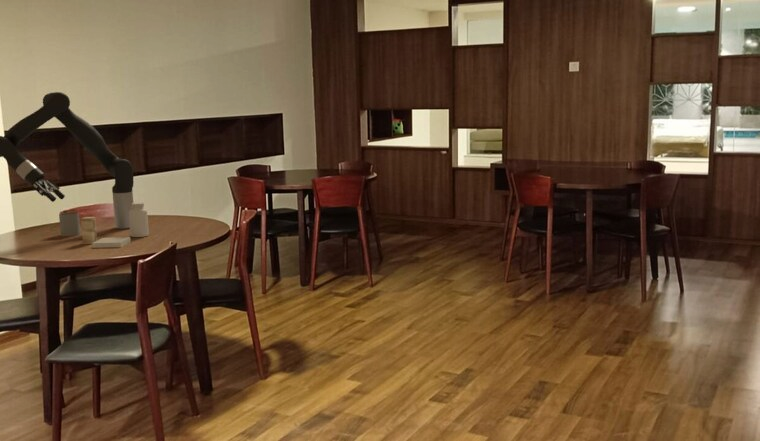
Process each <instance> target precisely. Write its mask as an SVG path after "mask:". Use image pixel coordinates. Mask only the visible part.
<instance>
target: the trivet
mask: <svg viewBox="0 0 760 441" xmlns="http://www.w3.org/2000/svg"><path fill="white" fill-rule="evenodd" d="M131 240H132V239H131V236H128V237H127V236H122V237H119V236H118V237H101V238H100V239H97V241H96V242H94V243H92V249H93V248H94V249H102V248H122V247H124V246H125V245H126V246H127V244H129V243H131V242H132V241H131Z"/></svg>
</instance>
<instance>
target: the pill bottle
mask: <svg viewBox="0 0 760 441" xmlns="http://www.w3.org/2000/svg"><path fill="white" fill-rule="evenodd" d="M131 206H132V209H131V210H130V211H129V222H130V228H129V232H130V233H129V234H130V238H143V237H144V238H146V237H148V236H150V234H149V218H148V210H147V209H145V208H144V206H145V204H144V202H133V203H132V204H131Z"/></svg>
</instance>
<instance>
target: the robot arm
mask: <svg viewBox="0 0 760 441" xmlns="http://www.w3.org/2000/svg"><path fill="white" fill-rule="evenodd" d="M70 105H71V100H70V98H69V96H68V94H66V93H64V92H60V91H59V92H58V91H55V92H49V93H47V94H45V95H44V96H43V97H42V106H41V107H39V109H37V110H35V111H34V112H33V113H31V114H29V115H27V116H26V117H24V118H22V119H20V120H19V121H18V122H16V123H15V124H14V125H12V126H11V127H9V129H8V130H7V133H6V134H5V135H4V136H2V135H0V158H4V159H5V161H6V163H7V165H8V166H9V167H10V168H11V169H12V170H13V171H15V173H17V175H18V176H20V178H22V179H23V181H25V182H26V183H27V184H28V185H29V186H30V187H32V188H33V189H34V190H35V191H36V192H37V193H38V194H39V195H40V196H44V197H46V198H48V200H50V201H51V202H52V203H54V202H55V201H56V200H57V198H59V199H60V200H63V199H65V197H66V195H65V194H64V193H63V192H61V190H60V189H61V188H60V186H59V185H58V184H56V183H55V182H54V181H52V179H50V178H48V179H45V176H46V174H45V173H44V172H43V171H42V170H41V169H40V168H39V167H38V166H37V165H35V164H34V163H33V162H32V161H31V160H29V159H28V158H27V157H25V155H24V154H22V152H20V151H19V150H18V148H17V146H18V145H19V144H20V143H21V142H23V141H24V140H26V138H28V137H29V136H30V135H32V133H34V132H35V131H37V130H38V129H39V128H40V127H41V126H43V125H44V124H45V123H47V122H49V121H50V120H52V119H53V118H55V119H57V121H59V122H60V123H61V124H62V125H63V126H64V127H65V128H66V130H68V131H69V133H70V134H71V135H73V137H75V139H76V140H77V141H78V142H79V143H80V144H81V145H82V146H83V147H84V148H85V149H86V150H87V151H88V152H89V153H91V155H93V156H94V157H95V158H96V159H97V161H98V162H100V163H101V165H102V166H103V167H104V168H105V171H107V172H108V174H109V175H111V177H113V178H114V184H113V185H112V187H111V191H112V202H113V203H112V204H113V211H114V212H113V213H114V214H113V215H114V225H115V226H114V227H115V229H122V230H123V229H130V222H129V211H130V210H131V209H132V206H131V204H132V203H134V192H133V188H134V169H133V165H132V163H131V162H130V160H128V159H126V158H125V159H124V158H119V157H118V156H117V155H116V154H114V153H113V152H112V151H111V150H110V148H109V147H108V146H107V143H106V141H105V139H104V138H103V136H102V135H101V133H99V131H98V130H97V129H96V128H95V127H94V126H93V125H92V124H90V123H89V122H88V121H86V120H85V119H83V118H82V117H80V116H79V115H77V114H76V113H74V112H73V111H72V110H71V108H70ZM55 195H56V196H55Z"/></svg>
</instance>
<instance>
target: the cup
mask: <svg viewBox="0 0 760 441" xmlns="http://www.w3.org/2000/svg"><path fill="white" fill-rule="evenodd" d="M58 220H59V226H60V227H59V229H60V236H61V237H76V236H80V235H82V232H81V225H80V224H81V222H80V214H79V212H76V211H72V212H71V211H70V212H69V211H68V212H61V213H59V214H58Z"/></svg>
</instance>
